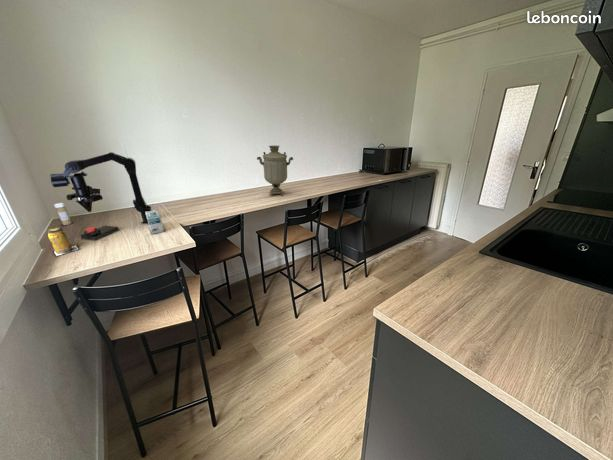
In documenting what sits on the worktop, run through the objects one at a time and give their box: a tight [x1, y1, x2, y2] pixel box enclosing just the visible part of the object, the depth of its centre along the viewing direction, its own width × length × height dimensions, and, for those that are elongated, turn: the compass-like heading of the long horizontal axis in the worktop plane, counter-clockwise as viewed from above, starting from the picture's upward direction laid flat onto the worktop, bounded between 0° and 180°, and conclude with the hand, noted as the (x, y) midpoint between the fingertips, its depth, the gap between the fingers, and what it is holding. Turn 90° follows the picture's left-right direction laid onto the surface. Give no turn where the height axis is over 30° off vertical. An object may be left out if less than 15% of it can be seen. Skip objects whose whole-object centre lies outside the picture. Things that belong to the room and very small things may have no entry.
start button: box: [85, 226, 97, 233], centre depth 138 cm, size 4×4×2 cm
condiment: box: [47, 227, 79, 257], centre depth 123 cm, size 7×8×12 cm
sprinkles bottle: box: [53, 202, 73, 226], centre depth 155 cm, size 5×5×13 cm
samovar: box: [256, 144, 294, 197], centre depth 213 cm, size 30×26×40 cm
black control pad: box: [79, 225, 120, 241], centre depth 142 cm, size 10×14×4 cm
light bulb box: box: [145, 209, 165, 235], centre depth 146 cm, size 11×7×11 cm, turn 35°
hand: (90, 211), depth 143 cm, fingers closed
